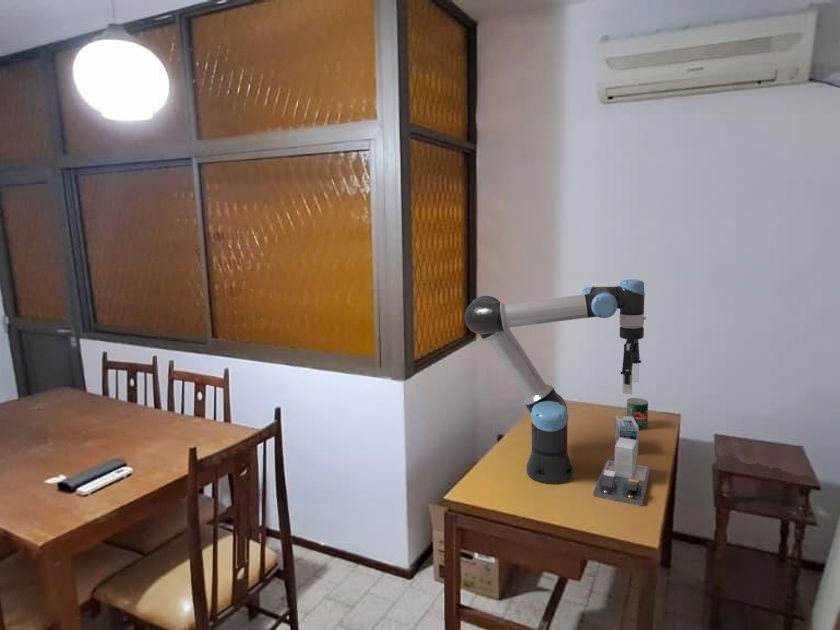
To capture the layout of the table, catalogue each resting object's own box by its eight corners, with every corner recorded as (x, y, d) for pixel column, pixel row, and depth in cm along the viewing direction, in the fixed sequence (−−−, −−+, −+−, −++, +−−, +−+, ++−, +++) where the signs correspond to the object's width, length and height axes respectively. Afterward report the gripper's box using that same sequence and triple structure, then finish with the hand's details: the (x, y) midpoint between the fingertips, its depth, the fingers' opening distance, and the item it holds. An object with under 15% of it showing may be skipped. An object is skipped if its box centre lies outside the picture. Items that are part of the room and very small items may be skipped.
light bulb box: (638, 455, 190) (639, 426, 188) (618, 454, 191) (619, 426, 189) (633, 443, 200) (633, 415, 198) (614, 442, 201) (614, 415, 199)
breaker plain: (611, 491, 163) (611, 486, 162) (601, 489, 164) (601, 484, 163) (615, 476, 168) (615, 471, 167) (605, 474, 170) (605, 469, 169)
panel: (642, 506, 157) (642, 493, 156) (593, 496, 163) (593, 484, 163) (649, 473, 176) (650, 462, 175) (605, 466, 182) (605, 455, 182)
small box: (618, 466, 178) (619, 436, 177) (636, 469, 176) (637, 439, 174) (613, 476, 172) (614, 445, 170) (632, 480, 169) (632, 449, 167)
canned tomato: (633, 422, 220) (634, 396, 218) (651, 427, 214) (652, 401, 212) (622, 426, 216) (623, 400, 214) (640, 432, 209) (640, 405, 207)
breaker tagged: (636, 490, 159) (636, 484, 159) (625, 488, 160) (625, 482, 160) (638, 486, 165) (639, 480, 165) (628, 484, 166) (628, 478, 166)
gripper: (637, 334, 165) (636, 399, 168) (649, 319, 186) (647, 378, 189) (612, 333, 168) (612, 397, 172) (626, 318, 189) (625, 376, 193)
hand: (630, 387), depth 181 cm, fingers open, 13 cm apart
